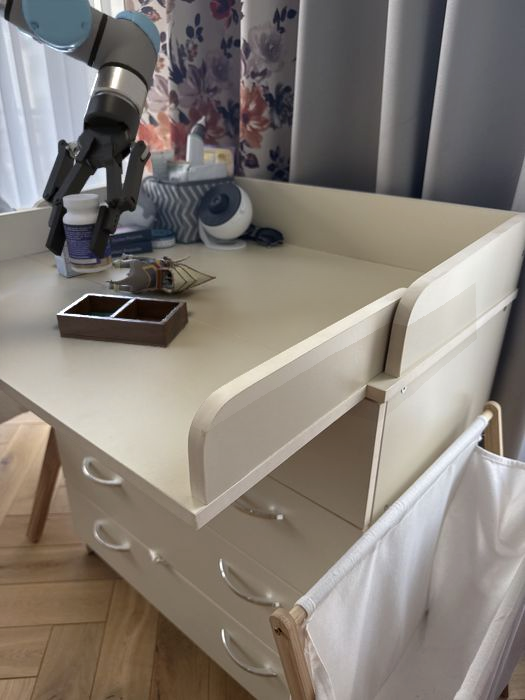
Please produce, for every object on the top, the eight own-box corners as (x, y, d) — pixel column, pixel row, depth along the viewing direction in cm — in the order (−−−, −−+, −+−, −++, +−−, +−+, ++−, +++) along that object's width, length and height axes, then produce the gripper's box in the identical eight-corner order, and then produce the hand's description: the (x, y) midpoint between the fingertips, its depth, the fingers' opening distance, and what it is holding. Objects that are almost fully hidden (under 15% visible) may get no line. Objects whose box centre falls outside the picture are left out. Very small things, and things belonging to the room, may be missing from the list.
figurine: (148, 240, 104) (230, 248, 99) (150, 271, 107) (230, 280, 102) (85, 266, 87) (180, 277, 82) (89, 302, 89) (182, 315, 84)
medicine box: (94, 263, 109) (87, 220, 105) (105, 268, 106) (98, 224, 102) (57, 273, 104) (48, 228, 100) (67, 278, 101) (58, 232, 97)
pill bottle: (111, 272, 75) (100, 199, 71) (68, 275, 74) (54, 201, 70) (114, 260, 80) (104, 191, 76) (74, 262, 79) (61, 193, 75)
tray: (166, 347, 75) (163, 324, 74) (60, 336, 79) (55, 314, 77) (188, 322, 83) (186, 301, 81) (91, 313, 86) (87, 293, 85)
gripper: (183, 128, 81) (149, 269, 74) (71, 128, 85) (29, 261, 78) (165, 90, 74) (126, 242, 67) (44, 91, 78) (-4, 234, 71)
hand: (74, 252), depth 73 cm, fingers closed on pill bottle, 6 cm apart
